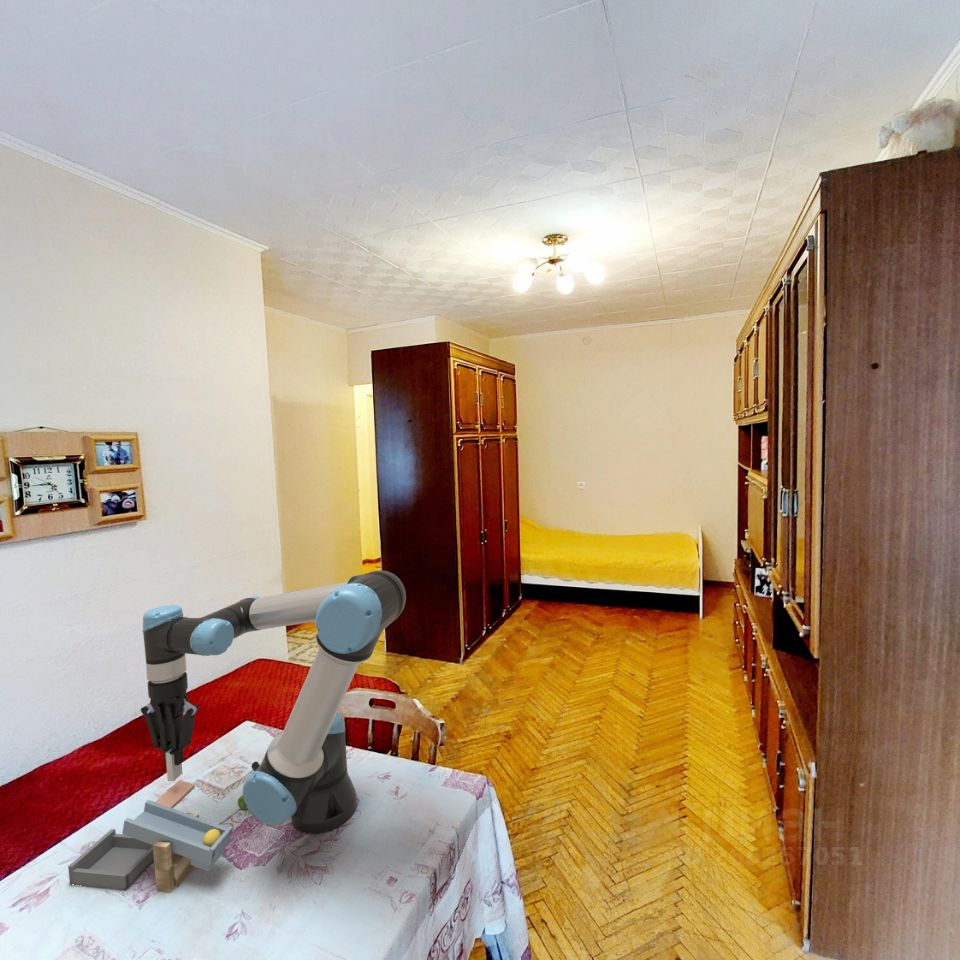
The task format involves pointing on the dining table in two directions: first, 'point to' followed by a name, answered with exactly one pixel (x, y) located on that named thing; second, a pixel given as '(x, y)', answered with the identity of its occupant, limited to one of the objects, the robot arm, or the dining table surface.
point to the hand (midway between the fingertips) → (175, 777)
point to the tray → (112, 862)
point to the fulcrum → (170, 866)
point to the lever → (178, 828)
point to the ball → (211, 837)
